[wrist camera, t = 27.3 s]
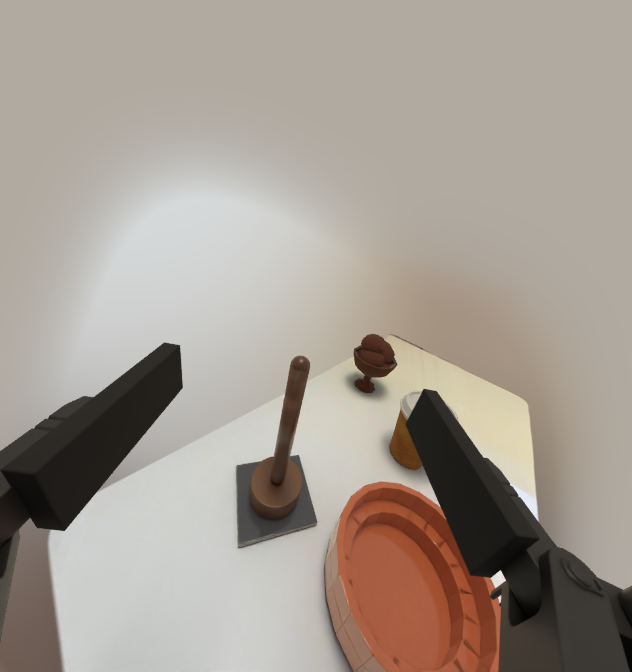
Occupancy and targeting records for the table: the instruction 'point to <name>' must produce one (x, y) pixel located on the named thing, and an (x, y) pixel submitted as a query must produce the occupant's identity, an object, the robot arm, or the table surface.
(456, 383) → the table surface
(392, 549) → the terracotta round bowl
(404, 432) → the disposable coffee cup
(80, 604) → the table surface
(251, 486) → the paper towel holder
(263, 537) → the dark grey square tile
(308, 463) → the table surface
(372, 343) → the ice cream bowl
